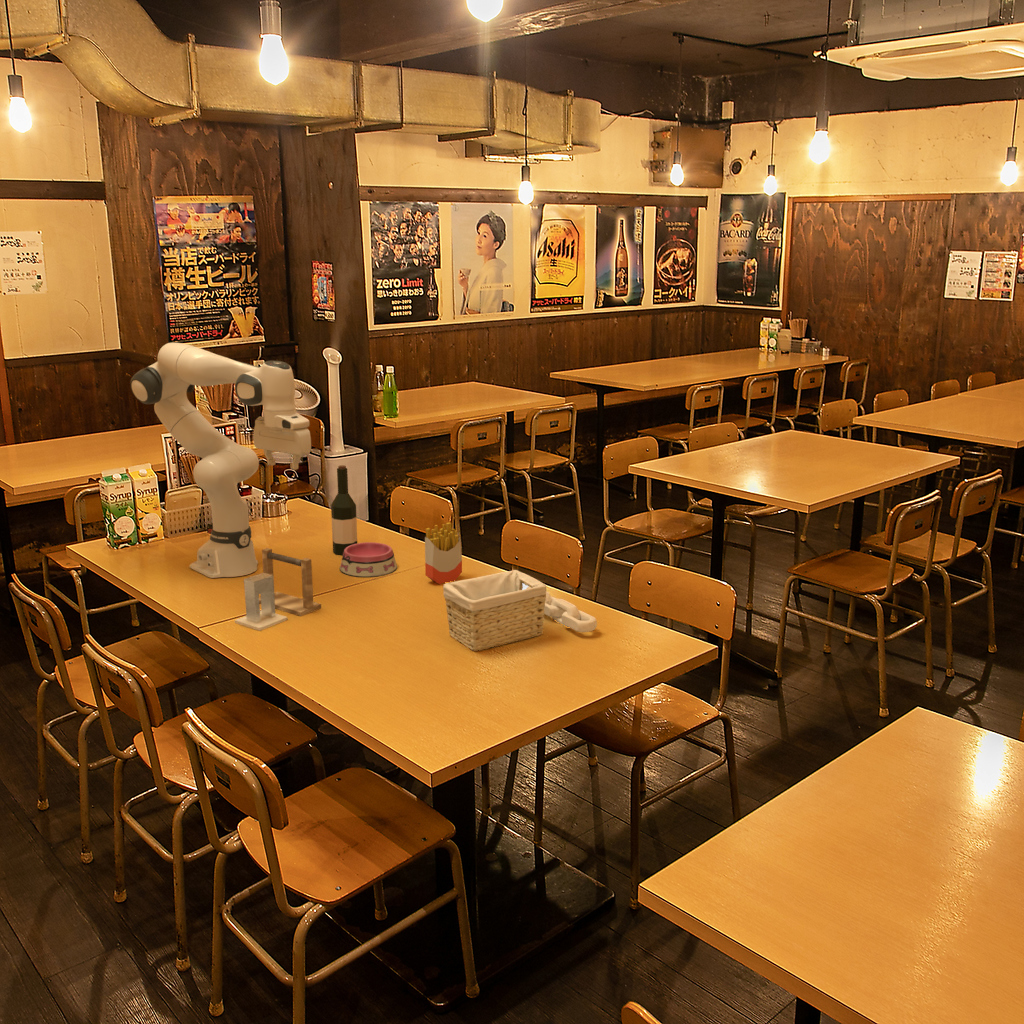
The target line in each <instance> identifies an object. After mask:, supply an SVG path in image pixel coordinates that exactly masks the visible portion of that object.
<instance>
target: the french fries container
mask: <svg viewBox="0 0 1024 1024" xmlns="http://www.w3.org/2000/svg"><path fill="white" fill-rule="evenodd" d="M441 526H442V527H441V528H439V526H438V525H437V524H435V525H434V528H432V529H431V528H430V527H427V528H425V536H424V555H425V556H424V558H425V559H424V561H425V564H424V565H425V567H424V569H425V571H424V572H425V576H426V577H427V578H428V579H429V580H431V581H433V582H434V583H436V584H438V585H440V584H441V585H443V584H442V583H445V582H449V583H451V582H450V581H454V580H455V581H457V579H458V578H459V577H460V575H461V574H462V573H463V556H462V543H461V537H460V534H459V532H458V529H457V530H456V529H455V528H452V523H451V521H450V522H446V523H442V524H441ZM455 581H454V582H455ZM445 584H446V583H445Z"/></svg>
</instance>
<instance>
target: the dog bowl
mask: <svg viewBox="0 0 1024 1024" xmlns="http://www.w3.org/2000/svg"><path fill="white" fill-rule="evenodd" d="M396 571H398V564H397V561H396V557H395V552H394V550H393V548H392V547H391V546H390V545H388V544H386V543H381V542H371V541H369V542H368V541H367V542H357V544H353V545H350V546H348V547H346V548H345V550H344V553H343V555H342V556H341V562H340V566H339V572H340V573H341V574H343V575H345V576H348V577H353V578H354V577H355V578H361V579H362V578H363V579H364V578H378V577H383V576H388V575H390V574H393V573H395V572H396Z"/></svg>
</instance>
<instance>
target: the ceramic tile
mask: <svg viewBox="0 0 1024 1024" xmlns="http://www.w3.org/2000/svg"><path fill="white" fill-rule="evenodd" d="M275 615H276V616H275V617H272V618H271V617H268V616H264V615H262V609H260V621H261V622H259V623H257V624H256V623H253V622H250V621H247V618H246V615H244V616H243V617H240V618H239V617H238V618H237V619H234V623H235V624H237V625H240V626H242V627H246V628H249V629H253V630H255V631H258V632H260V631H263V630H266V629H268V628H270V627H274V626H275V625H277V624H280V623H281V624H282V623H284V622H286V621H289V620H288V619H289V618H288V616H285V615H283V614H278V613H276V612H275Z"/></svg>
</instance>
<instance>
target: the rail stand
mask: <svg viewBox="0 0 1024 1024" xmlns="http://www.w3.org/2000/svg"><path fill="white" fill-rule="evenodd" d="M261 557H262V558H261V559H262V573H266V574H270V575H273V581H274V582H275V577H274V564H273V562H274V560H275V561H277V562H278V561H279V562H282V563H287V564H290V565H294V566H298V567H300V568H301V584H302V585H301V587H302V598H300V597H298V596H294V595H291V594H290V595H289V594H286V593H284V592H280V591H276V592H275V591H274V598H275V610H279V611H282V612H285V613H288V614H292V615H296V616H298V617H302V616H305V615H308V614H310V613H313V612H315V611H318V610H321V609H322V603H318V602H316V601H315V602H314V591H313V590H314V586H313V569H312V567H313V566H312V559H311V558H308V557H306V558H302V559H300V558H295V557H290V556H287V555H284V554H279V553H276V552H273V549H272V548H268V547H266V548H262V549H261ZM259 605H261V597H259Z"/></svg>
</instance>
